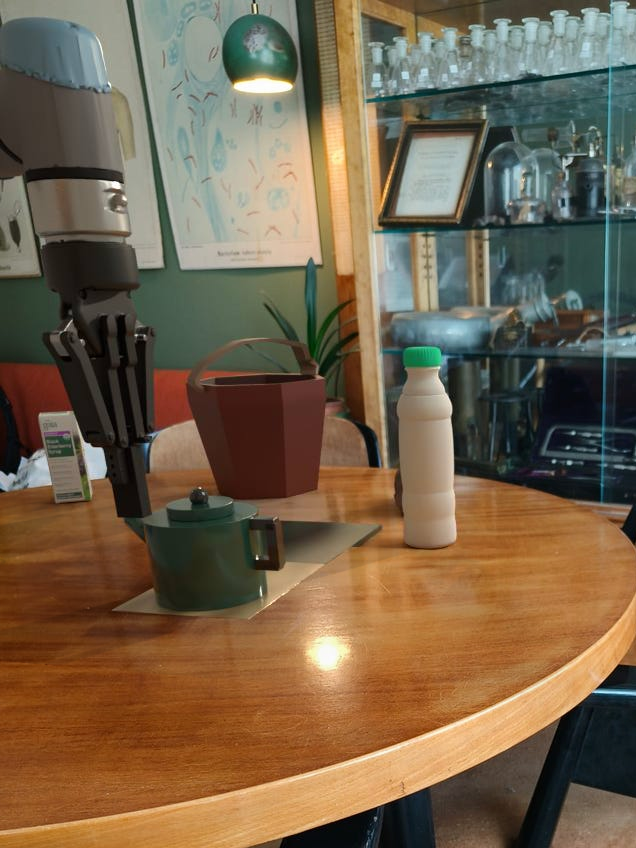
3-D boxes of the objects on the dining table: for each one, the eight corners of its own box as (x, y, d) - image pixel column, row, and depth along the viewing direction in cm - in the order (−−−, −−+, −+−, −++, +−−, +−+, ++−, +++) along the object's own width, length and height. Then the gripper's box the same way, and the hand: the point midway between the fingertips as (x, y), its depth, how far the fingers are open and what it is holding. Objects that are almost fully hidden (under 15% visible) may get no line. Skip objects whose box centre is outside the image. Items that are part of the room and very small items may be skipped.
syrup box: (54, 504, 147) (36, 415, 142) (57, 497, 152) (40, 411, 147) (91, 500, 149) (75, 412, 144) (93, 494, 154) (77, 409, 149)
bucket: (315, 471, 169) (302, 333, 160) (362, 491, 151) (351, 337, 142) (185, 487, 157) (164, 340, 148) (220, 510, 140) (198, 344, 130)
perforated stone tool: (398, 497, 145) (396, 455, 143) (430, 496, 146) (428, 454, 143) (392, 519, 131) (389, 472, 129) (428, 518, 132) (425, 471, 129)
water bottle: (394, 547, 117) (382, 348, 108) (420, 534, 123) (411, 345, 114) (441, 552, 114) (433, 349, 105) (465, 538, 120) (459, 345, 111)
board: (111, 617, 94) (110, 610, 93) (279, 525, 130) (279, 520, 129) (249, 626, 90) (248, 619, 90) (382, 529, 126) (382, 524, 126)
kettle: (104, 606, 94) (83, 497, 90) (167, 573, 105) (151, 474, 101) (260, 616, 90) (246, 502, 86) (309, 581, 101) (299, 478, 97)
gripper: (74, 235, 68) (128, 534, 76) (169, 243, 79) (206, 501, 88) (-8, 239, 69) (54, 531, 78) (97, 247, 81) (140, 500, 90)
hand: (134, 515), depth 83 cm, fingers closed
